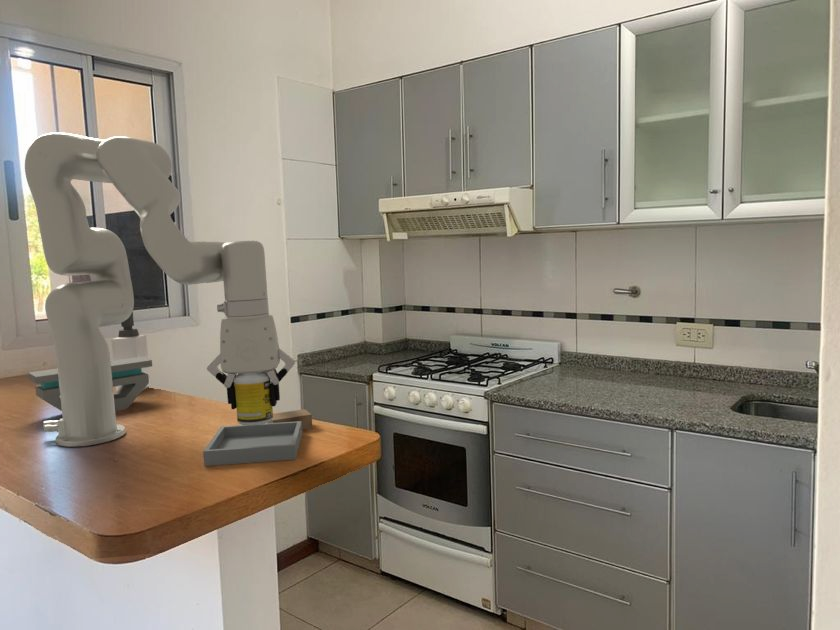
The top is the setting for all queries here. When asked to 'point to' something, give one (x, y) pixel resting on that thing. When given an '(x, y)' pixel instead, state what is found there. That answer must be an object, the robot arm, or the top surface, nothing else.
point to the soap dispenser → (130, 345)
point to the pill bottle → (253, 398)
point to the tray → (254, 443)
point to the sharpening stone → (123, 375)
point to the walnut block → (294, 418)
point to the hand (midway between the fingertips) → (254, 405)
